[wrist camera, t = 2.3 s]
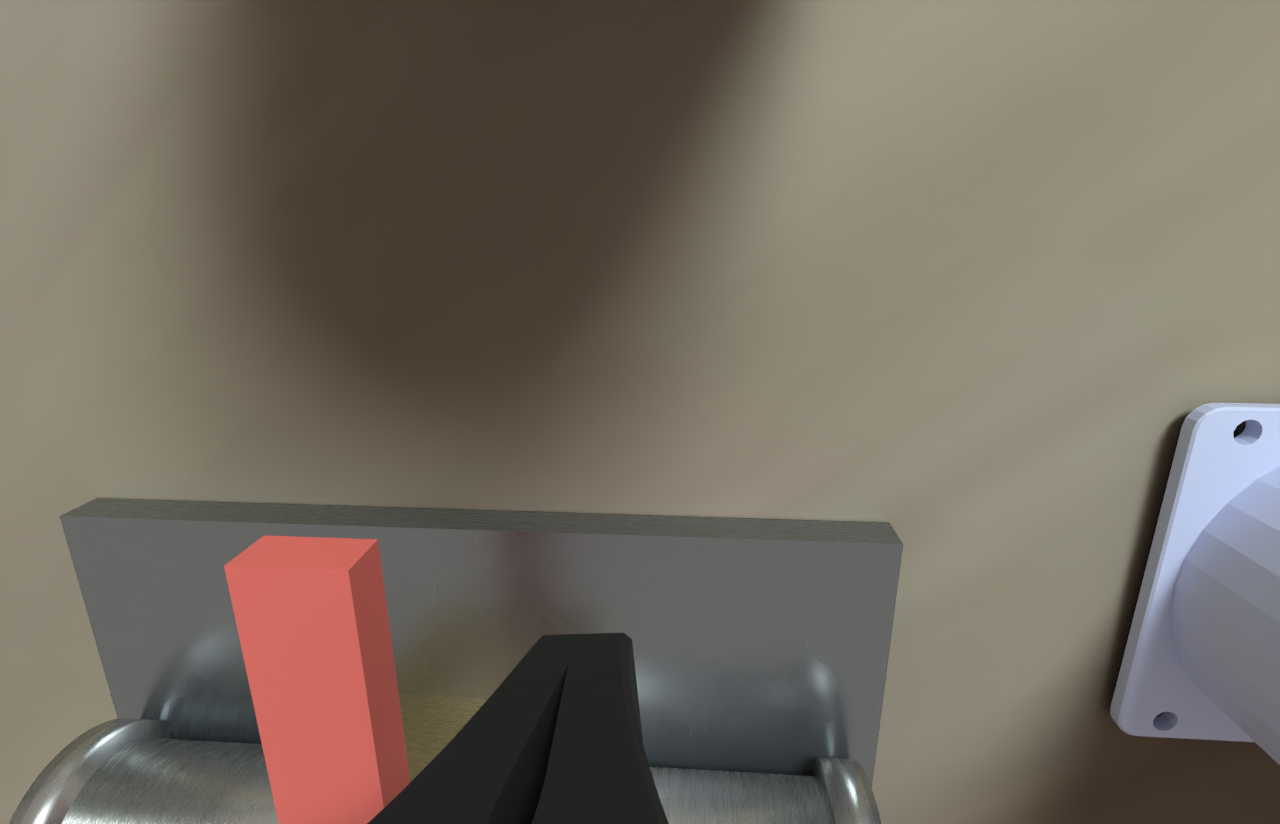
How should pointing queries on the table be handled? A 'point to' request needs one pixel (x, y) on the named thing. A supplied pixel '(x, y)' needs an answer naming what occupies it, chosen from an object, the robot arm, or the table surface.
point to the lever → (321, 675)
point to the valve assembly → (496, 649)
